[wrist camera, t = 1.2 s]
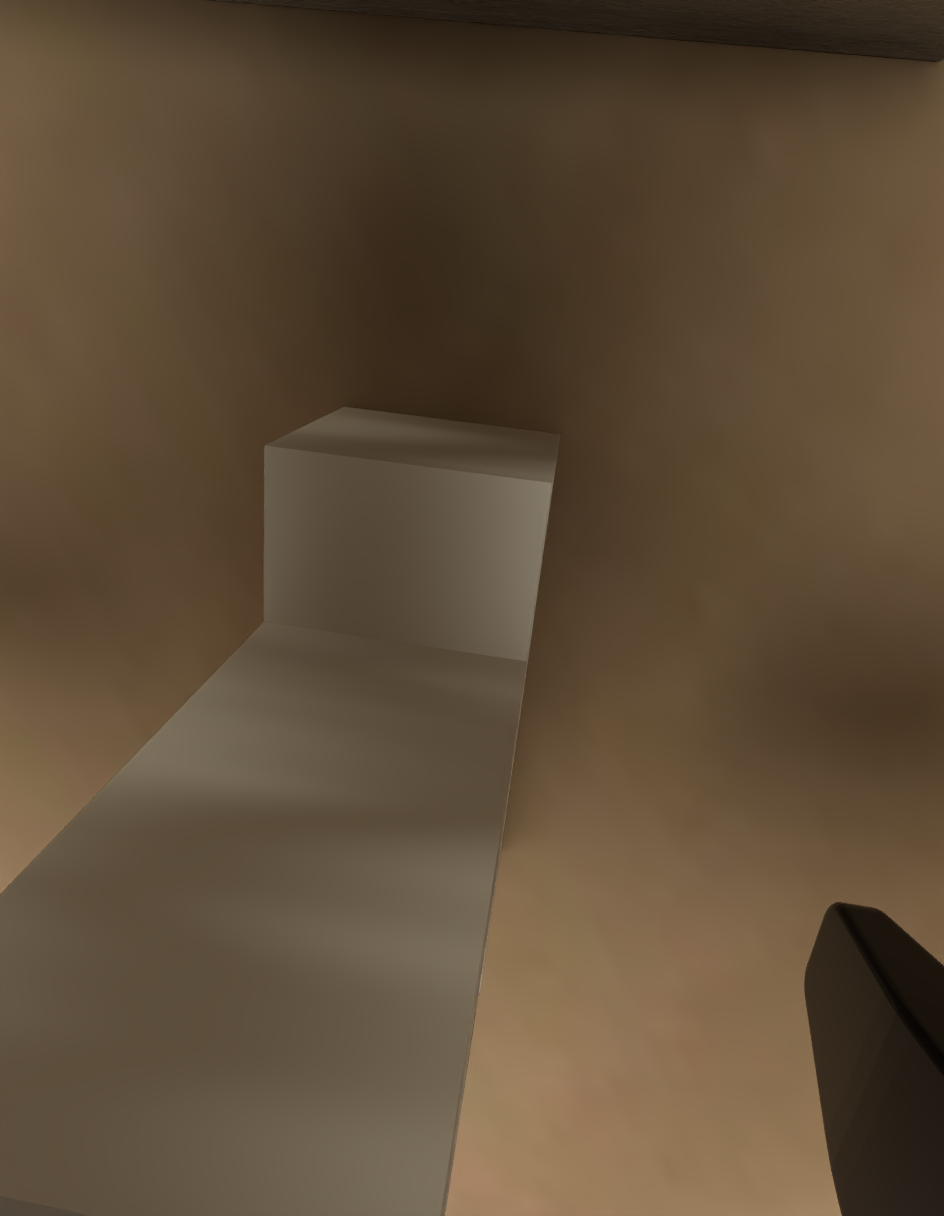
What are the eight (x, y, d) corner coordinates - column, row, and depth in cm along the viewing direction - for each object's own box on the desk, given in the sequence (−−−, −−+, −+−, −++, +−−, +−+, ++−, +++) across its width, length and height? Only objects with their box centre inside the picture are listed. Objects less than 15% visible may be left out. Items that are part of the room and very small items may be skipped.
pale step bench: (560, 433, 11) (481, 910, 3) (501, 851, 13) (365, 1750, 5) (344, 406, 11) (-383, 759, 3) (327, 821, 14) (-66, 1635, 5)
